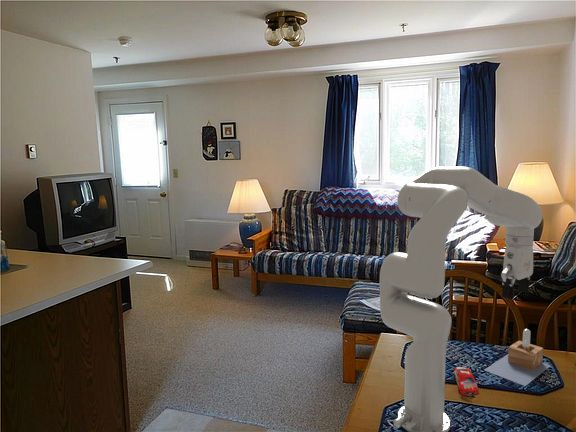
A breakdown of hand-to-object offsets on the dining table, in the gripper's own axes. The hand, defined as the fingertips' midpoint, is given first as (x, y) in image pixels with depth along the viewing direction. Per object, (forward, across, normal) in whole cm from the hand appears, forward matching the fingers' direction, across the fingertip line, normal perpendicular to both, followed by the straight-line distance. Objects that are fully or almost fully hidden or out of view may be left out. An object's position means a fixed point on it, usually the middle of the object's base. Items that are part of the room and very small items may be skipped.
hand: (515, 294), depth 133 cm
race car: (+24, -22, +2) cm, 33 cm away
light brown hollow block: (+22, +2, -3) cm, 22 cm away
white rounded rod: (+22, +2, -3) cm, 22 cm away
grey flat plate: (+23, -3, -3) cm, 23 cm away
